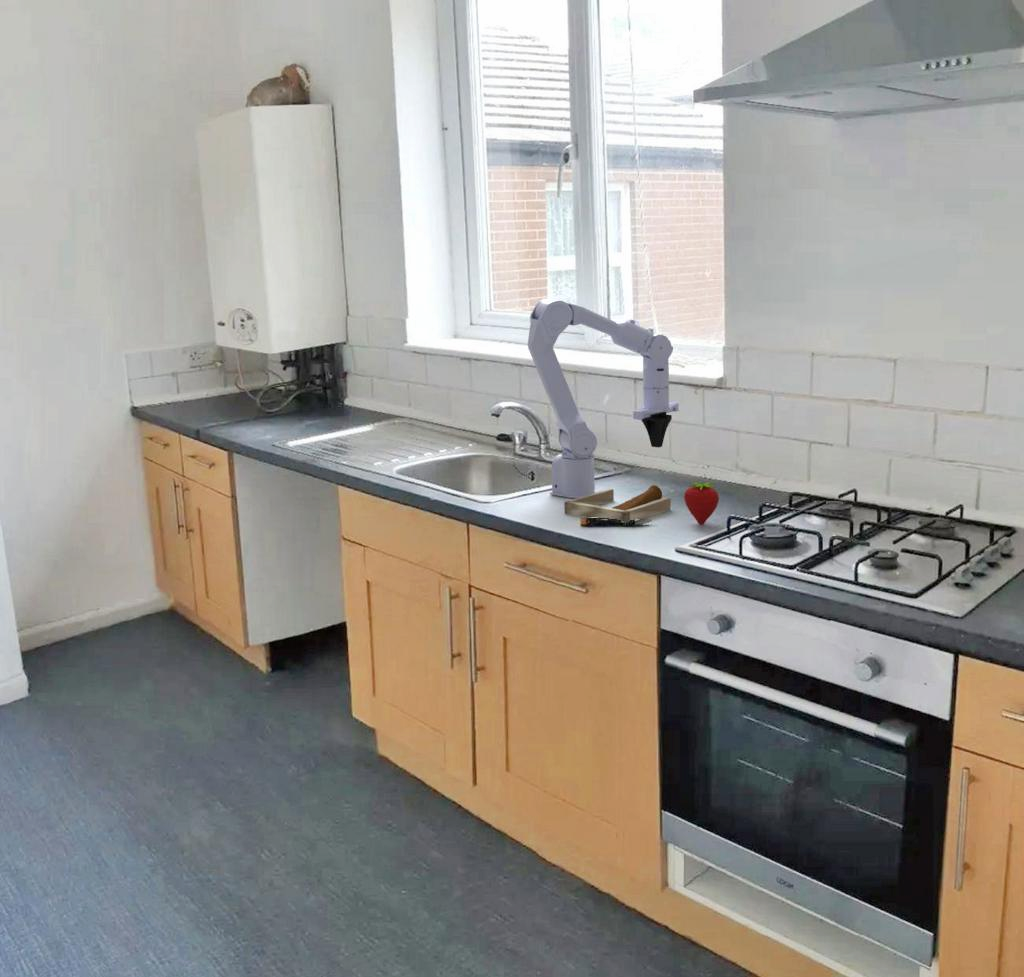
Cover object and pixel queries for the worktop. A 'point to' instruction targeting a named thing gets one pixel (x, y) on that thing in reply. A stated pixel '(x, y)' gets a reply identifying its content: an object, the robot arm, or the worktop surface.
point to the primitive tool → (641, 498)
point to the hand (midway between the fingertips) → (656, 446)
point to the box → (589, 508)
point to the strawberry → (701, 500)
